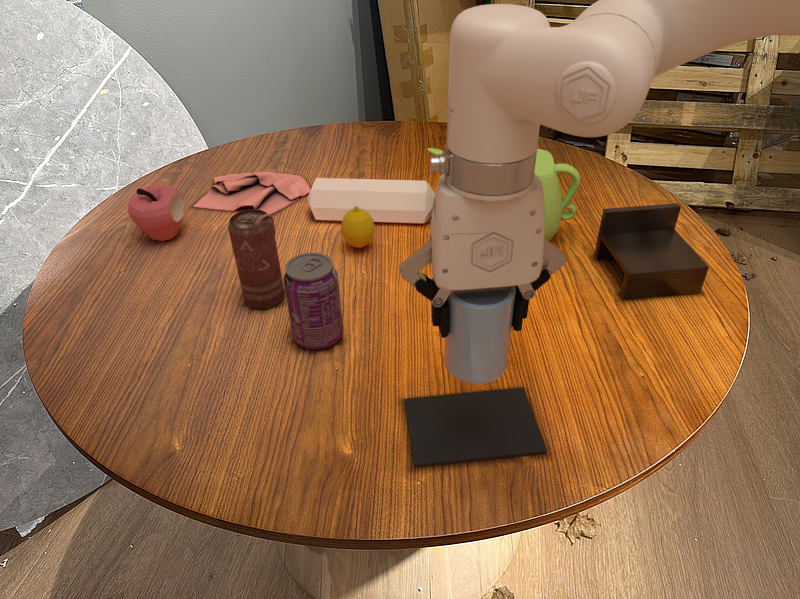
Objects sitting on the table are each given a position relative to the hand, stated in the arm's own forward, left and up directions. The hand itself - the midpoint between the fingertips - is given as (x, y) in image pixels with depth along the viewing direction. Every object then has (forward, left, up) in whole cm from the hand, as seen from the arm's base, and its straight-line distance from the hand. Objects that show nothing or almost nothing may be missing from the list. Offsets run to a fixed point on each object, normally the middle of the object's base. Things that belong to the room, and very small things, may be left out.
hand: (478, 324), depth 63 cm
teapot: (-14, -45, -16) cm, 50 cm away
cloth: (+31, -64, -16) cm, 73 cm away
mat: (0, 0, -16) cm, 16 cm away
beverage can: (+18, -19, -16) cm, 31 cm away
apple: (+45, -50, -16) cm, 69 cm away
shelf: (-33, -27, -16) cm, 45 cm away
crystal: (+8, -52, -16) cm, 55 cm away
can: (+26, -29, -16) cm, 42 cm away
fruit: (+11, -41, -16) cm, 45 cm away
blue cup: (0, 0, -5) cm, 5 cm away
